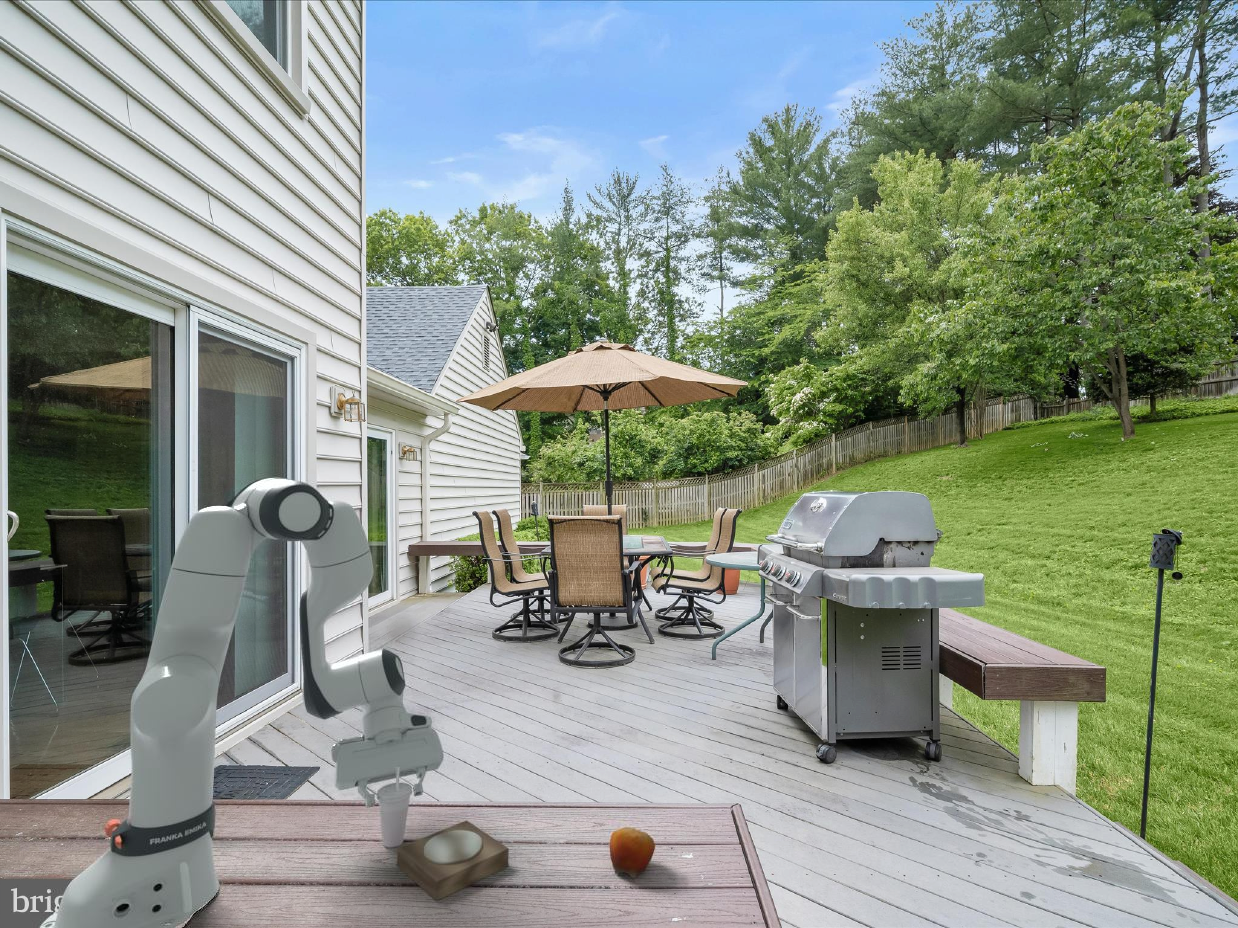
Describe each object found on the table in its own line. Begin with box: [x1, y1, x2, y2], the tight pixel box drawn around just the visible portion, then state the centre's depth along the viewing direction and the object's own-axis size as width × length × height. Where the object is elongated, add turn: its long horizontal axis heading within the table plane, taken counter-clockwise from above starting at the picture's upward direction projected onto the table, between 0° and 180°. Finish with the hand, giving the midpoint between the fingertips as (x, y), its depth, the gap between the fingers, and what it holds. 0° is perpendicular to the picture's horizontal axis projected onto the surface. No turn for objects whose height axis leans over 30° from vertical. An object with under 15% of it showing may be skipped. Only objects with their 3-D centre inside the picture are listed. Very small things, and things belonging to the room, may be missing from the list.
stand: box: [396, 820, 510, 902], centre depth 109 cm, size 14×14×4 cm
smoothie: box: [376, 766, 413, 848], centre depth 118 cm, size 6×6×14 cm
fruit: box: [609, 826, 656, 882], centre depth 108 cm, size 8×8×8 cm
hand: (395, 800), depth 117 cm, fingers open, 7 cm apart
